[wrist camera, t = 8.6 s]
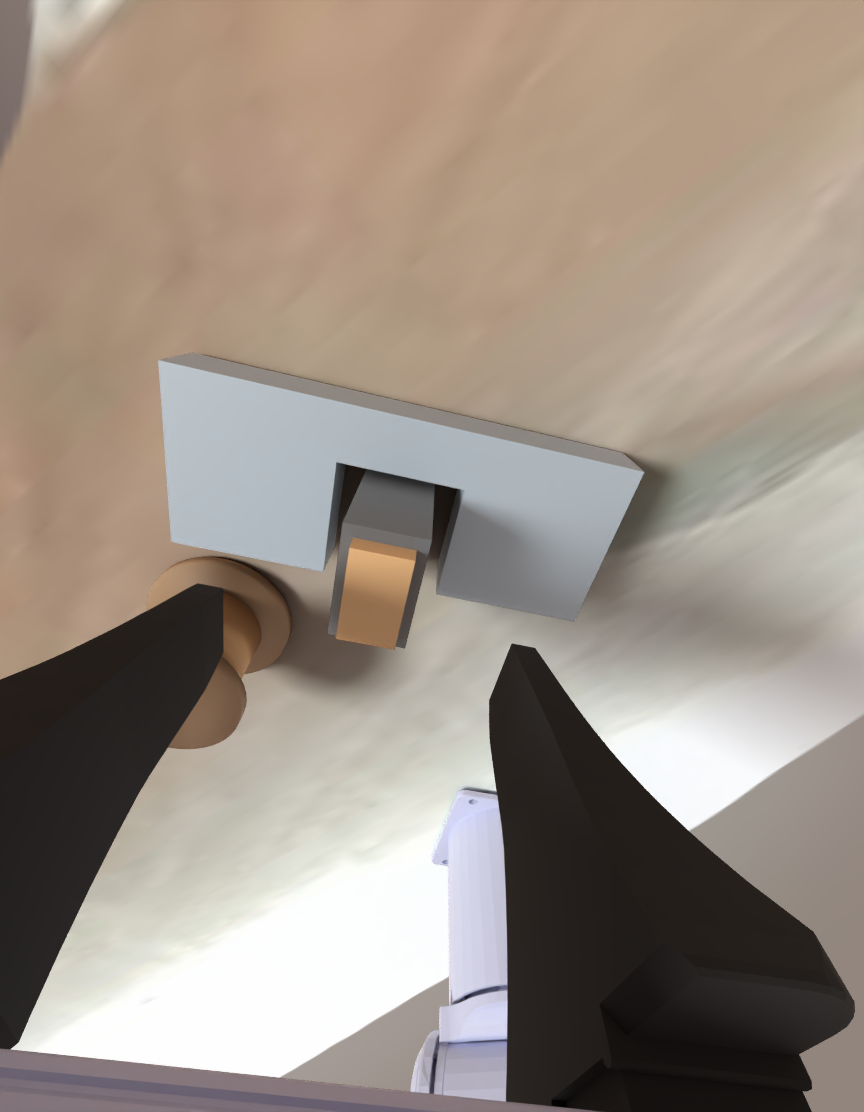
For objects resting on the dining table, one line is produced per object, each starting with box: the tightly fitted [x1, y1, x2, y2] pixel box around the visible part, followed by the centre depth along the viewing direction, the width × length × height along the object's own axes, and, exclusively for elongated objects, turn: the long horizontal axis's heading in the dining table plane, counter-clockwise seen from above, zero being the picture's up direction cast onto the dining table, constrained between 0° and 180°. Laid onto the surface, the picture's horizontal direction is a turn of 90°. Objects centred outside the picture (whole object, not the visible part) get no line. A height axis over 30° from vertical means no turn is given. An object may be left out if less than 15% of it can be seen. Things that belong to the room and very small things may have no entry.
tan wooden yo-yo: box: [147, 557, 291, 749], centre depth 19 cm, size 6×6×5 cm
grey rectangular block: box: [327, 469, 435, 650], centre depth 16 cm, size 2×4×7 cm, turn 167°
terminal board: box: [158, 353, 644, 621], centre depth 17 cm, size 16×6×2 cm, turn 78°
